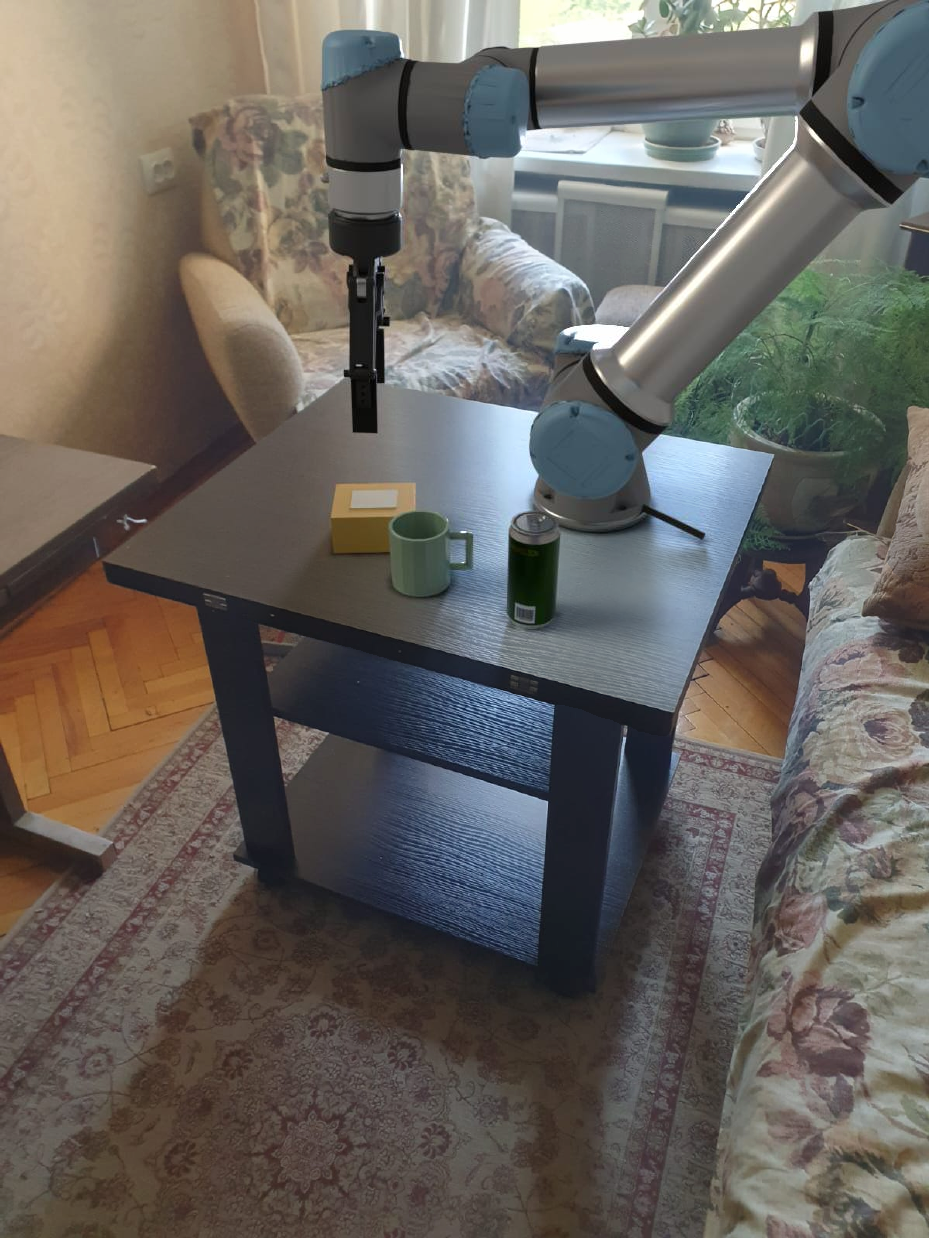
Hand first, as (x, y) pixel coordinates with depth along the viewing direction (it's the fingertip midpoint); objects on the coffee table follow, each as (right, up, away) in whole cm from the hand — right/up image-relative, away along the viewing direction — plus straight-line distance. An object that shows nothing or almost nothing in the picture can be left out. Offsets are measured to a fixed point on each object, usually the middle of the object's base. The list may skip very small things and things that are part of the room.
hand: (369, 406), depth 108 cm
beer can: (+18, -24, -4) cm, 31 cm away
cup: (+7, -20, +1) cm, 21 cm away
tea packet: (0, -14, +10) cm, 17 cm away
